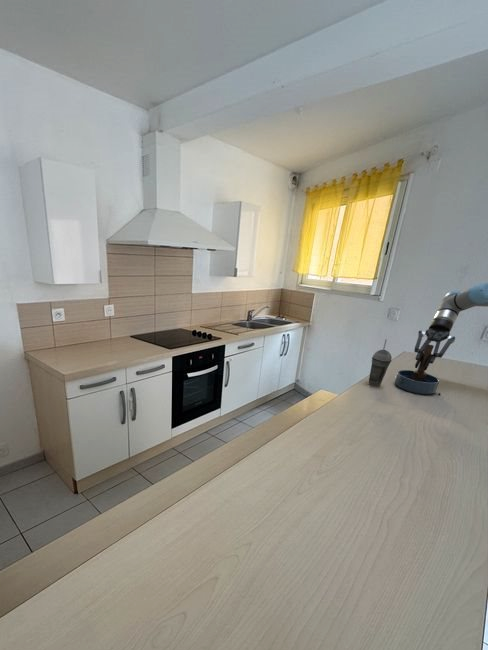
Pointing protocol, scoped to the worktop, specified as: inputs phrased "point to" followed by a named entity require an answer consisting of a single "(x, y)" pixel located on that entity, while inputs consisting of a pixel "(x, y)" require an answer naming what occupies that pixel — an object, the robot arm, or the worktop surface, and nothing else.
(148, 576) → the worktop surface
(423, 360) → the rusty bolt
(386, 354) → the beverage cup
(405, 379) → the bowl
